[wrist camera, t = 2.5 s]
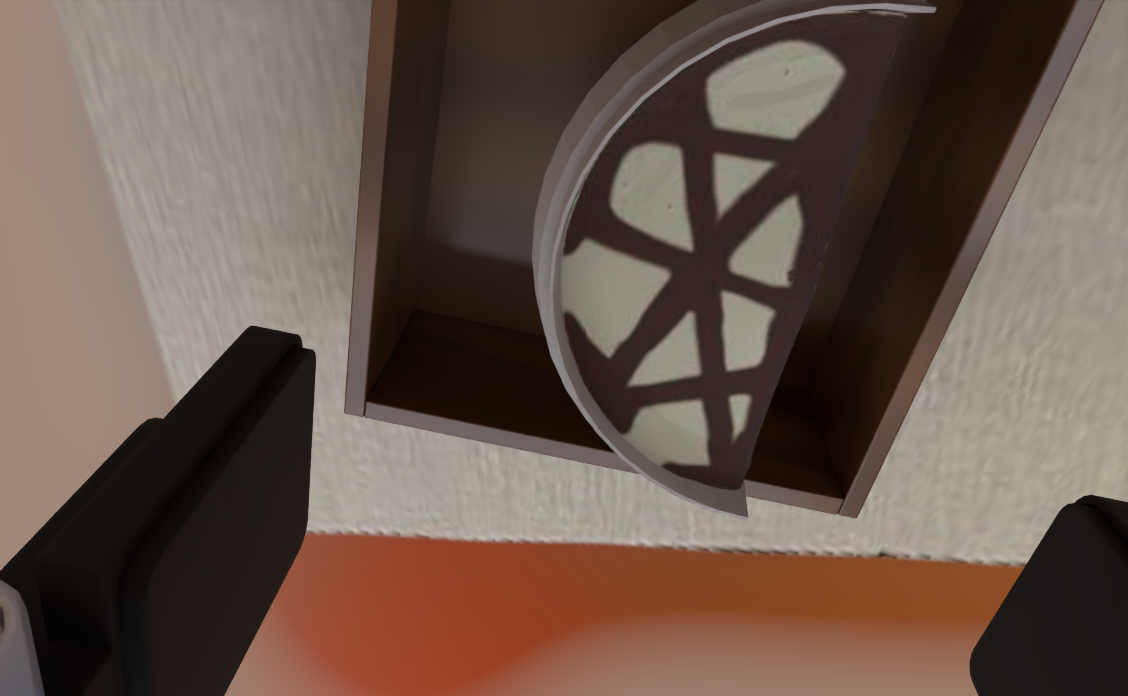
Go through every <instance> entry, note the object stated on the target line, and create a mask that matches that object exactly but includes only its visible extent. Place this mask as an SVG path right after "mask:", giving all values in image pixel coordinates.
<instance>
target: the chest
mask: <svg viewBox="0 0 1128 696" xmlns="http://www.w3.org/2000/svg"><path fill="white" fill-rule="evenodd" d="M696 1H698V0H372V8H371V23H370V38H369V52H368V67H367V82H366V97H365V112H364V126H363V141H362V156H361V171H360V186H359V200H358V215H357V230H356V245H355V259H354V274H353V289H352V304H351V319H350V333H349V348H348V363H347V378H346V392H345V407H344V412H345V413H346V414H351V415H356V416H361V417H364V416H365V417H366V418H370V419H375V420H380V421H384V422H389V423H394V424H399V425H404V426H409V427H414V428H418V429H423V430H428V431H433V432H438V433H443V434H447V435H452V436H457V437H462V438H467V439H472V440H477V441H481V442H486V443H491V444H496V445H501V446H506V447H510V448H515V449H520V450H525V451H530V452H535V453H540V454H544V455H549V456H554V457H559V458H564V459H569V460H574V461H578V462H583V463H588V464H593V465H598V466H603V467H607V468H612V469H617V470H622V471H627V472H632V473H637V474H640V473H639V472H638V471H636V470H635V469H634V468H632V467H631V466H630V465H629V464H627V463H626V462H625V461H624V460H622V459H621V458H620V457H619V456H618V455H617V454H616V453H615V452H614V451H613V450H612V449H611V447H610V446H609V445H608V444H607V443H606V442H605V441H604V440H603V439H602V438H601V437H600V436H599V435H598V434H597V432H596V431H595V430H594V428H593V427H592V425H591V424H590V423H589V422H588V421H587V420H586V419H585V417H584V416H583V414H582V413H581V411H580V410H579V408H578V407H577V405H576V404H575V402H574V401H573V399H572V398H571V396H570V395H569V393H568V392H567V390H566V388H565V386H564V384H563V382H562V380H561V377H560V375H559V373H558V371H557V368H556V366H555V364H554V362H553V360H552V357H551V355H550V351H549V347H548V343H547V339H546V336H545V332H544V328H543V324H542V320H541V316H540V312H539V307H538V303H537V299H536V294H535V283H534V273H533V262H532V248H533V235H534V221H535V213H536V209H537V205H538V201H539V197H540V193H541V189H542V185H543V180H544V176H545V173H546V171H547V168H548V166H549V164H550V161H551V159H552V157H553V154H554V152H555V150H556V147H557V145H558V143H559V140H560V138H561V136H562V133H563V132H564V130H565V128H566V127H567V125H568V124H569V122H570V120H571V119H572V117H573V116H574V114H575V113H576V111H577V109H578V108H579V106H580V105H581V103H582V102H583V100H584V98H585V97H586V95H587V94H588V92H589V91H590V90H591V89H592V88H593V87H594V86H595V84H596V83H597V82H598V81H599V80H600V79H601V78H602V76H603V75H604V74H605V73H606V72H607V71H608V70H609V69H610V67H611V66H612V65H613V64H614V63H615V62H616V61H617V59H618V58H619V57H620V56H621V55H622V54H624V53H625V52H626V51H627V50H628V49H630V48H631V47H632V46H633V45H634V44H636V43H637V42H638V41H639V40H640V39H642V38H643V37H644V36H645V35H646V34H648V33H649V32H650V31H651V30H652V29H654V28H655V27H656V26H657V25H658V24H660V23H661V22H663V21H664V20H666V19H668V18H669V17H671V16H673V15H674V14H676V13H678V12H679V11H681V10H683V9H684V8H686V7H688V6H689V5H691V4H693V3H695V2H696ZM1104 1H1105V0H926V2H928V3H929V4H931V5H933V6H935V7H937V8H936V10H935V13H902V14H904V15H906V16H907V18H906V21H905V24H904V27H903V30H902V33H901V36H900V38H899V41H898V44H897V47H896V50H895V53H894V56H893V58H892V61H891V64H890V67H889V70H888V73H887V76H886V78H885V81H884V84H883V87H882V90H881V93H880V96H879V98H878V101H877V104H876V107H875V110H874V113H873V115H872V118H871V121H870V124H869V127H868V129H867V132H866V135H865V138H864V141H863V144H862V146H861V149H860V152H859V155H858V158H857V161H856V163H855V166H854V169H853V172H852V175H851V178H850V181H849V184H848V188H847V191H846V194H845V197H844V200H843V203H842V206H841V209H840V212H839V215H838V218H837V221H836V224H835V227H834V230H833V233H832V237H831V240H830V243H829V247H828V250H827V253H826V256H825V260H824V263H823V266H822V269H821V273H820V276H819V279H818V282H817V285H816V289H815V292H814V295H813V297H812V300H811V302H810V305H809V307H808V310H807V312H806V315H805V317H804V319H803V322H802V324H801V327H800V329H799V332H798V334H797V336H796V339H795V341H794V344H793V346H792V348H791V351H790V353H789V355H788V358H787V360H786V363H785V365H784V368H783V370H782V373H781V376H780V378H779V381H778V383H777V386H776V389H775V391H774V394H773V396H772V399H771V402H770V404H769V407H768V410H767V413H766V415H765V418H764V421H763V423H762V426H761V429H760V432H759V434H758V437H757V441H756V444H755V447H754V450H753V454H752V460H751V465H750V467H749V469H748V471H747V473H746V475H745V478H744V485H745V494H746V496H748V497H753V498H758V499H763V500H767V501H772V502H777V503H782V504H787V505H792V506H797V507H801V508H806V509H811V510H816V511H821V512H826V513H830V514H835V515H836V514H837V513H838V514H839V515H842V516H846V517H851V518H857V517H858V515H859V513H860V511H861V509H862V506H863V504H864V502H865V500H866V498H867V496H868V494H869V492H870V490H871V488H872V486H873V483H874V481H875V479H876V477H877V475H878V473H879V471H880V469H881V467H882V465H883V463H884V460H885V458H886V456H887V454H888V452H889V450H890V448H891V446H892V444H893V442H894V440H895V437H896V435H897V433H898V431H899V429H900V427H901V425H902V423H903V421H904V419H905V417H906V414H907V412H908V410H909V408H910V406H911V404H912V402H913V400H914V398H915V396H916V394H917V392H918V389H919V387H920V385H921V383H922V381H923V379H924V377H925V375H926V373H927V371H928V369H929V366H930V364H931V362H932V360H933V358H934V356H935V354H936V352H937V350H938V348H939V346H940V343H941V341H942V339H943V337H944V335H945V333H946V331H947V329H948V327H949V325H950V323H951V320H952V318H953V316H954V314H955V312H956V310H957V308H958V306H959V304H960V302H961V300H962V297H963V295H964V293H965V291H966V289H967V287H968V285H969V283H970V281H971V279H972V277H973V274H974V272H975V270H976V268H977V266H978V264H979V262H980V260H981V258H982V256H983V254H984V251H985V249H986V247H987V245H988V243H989V241H990V239H991V237H992V235H993V233H994V231H995V228H996V226H997V224H998V222H999V220H1000V218H1001V216H1002V214H1003V212H1004V210H1005V208H1006V205H1007V203H1008V201H1009V199H1010V197H1011V195H1012V193H1013V191H1014V189H1015V187H1016V185H1017V182H1018V180H1019V178H1020V176H1021V174H1022V172H1023V170H1024V168H1025V166H1026V164H1027V162H1028V159H1029V157H1030V155H1031V153H1032V151H1033V149H1034V147H1035V145H1036V143H1037V141H1038V139H1039V136H1040V134H1041V132H1042V130H1043V128H1044V126H1045V124H1046V122H1047V120H1048V118H1049V116H1050V113H1051V111H1052V109H1053V107H1054V105H1055V103H1056V101H1057V99H1058V97H1059V95H1060V93H1061V91H1062V88H1063V86H1064V84H1065V82H1066V80H1067V78H1068V76H1069V74H1070V72H1071V70H1072V68H1073V65H1074V63H1075V61H1076V59H1077V57H1078V55H1079V53H1080V51H1081V49H1082V47H1083V45H1084V42H1085V40H1086V38H1087V36H1088V34H1089V32H1090V30H1091V28H1092V26H1093V24H1094V22H1095V19H1096V17H1097V15H1098V13H1099V11H1100V9H1101V7H1102V5H1103V3H1104Z"/></svg>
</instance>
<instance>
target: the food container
mask: <svg viewBox="0 0 1128 696" xmlns="http://www.w3.org/2000/svg"><path fill="white" fill-rule="evenodd" d="M936 8H937V7H935V6H933V5H931V4H929V3H928V2H926V0H698V1H696V2H695V3H693V4H691V5H689V6H688V7H686V8H684V9H683V10H681V11H679V12H678V13H676V14H674V15H673V16H671V17H669V18H668V19H666V20H664V21H663V22H661V23H660V24H658V25H657V26H656V27H655V28H654V29H652V30H651V31H650V32H649V33H648V34H646V35H645V36H644V37H643V38H642V39H640V40H639V41H638V42H637V43H636V44H634V45H633V46H632V47H631V48H630V49H628V50H627V51H626V52H625V53H624V54H622V55H621V56H620V57H619V58H618V59H617V61H616V62H615V63H614V64H613V65H612V66H611V67H610V69H609V70H608V71H607V72H606V73H605V74H604V75H603V76H602V78H601V79H600V80H599V81H598V82H597V83H596V84H595V86H594V87H593V88H592V89H591V90H590V91H589V92H588V94H587V95H586V97H585V98H584V100H583V102H582V103H581V105H580V106H579V108H578V109H577V111H576V113H575V114H574V116H573V117H572V119H571V120H570V122H569V124H568V125H567V127H566V128H565V130H564V132H563V133H562V136H561V138H560V140H559V143H558V145H557V147H556V150H555V152H554V154H553V157H552V159H551V161H550V164H549V166H548V168H547V171H546V173H545V176H544V180H543V185H542V189H541V193H540V197H539V201H538V205H537V209H536V213H535V221H534V235H533V248H532V262H533V273H534V283H535V294H536V299H537V303H538V307H539V312H540V316H541V320H542V324H543V328H544V332H545V336H546V339H547V343H548V347H549V351H550V355H551V357H552V360H553V362H554V364H555V366H556V368H557V371H558V373H559V375H560V377H561V380H562V382H563V384H564V386H565V388H566V390H567V392H568V393H569V395H570V396H571V398H572V399H573V401H574V402H575V404H576V405H577V407H578V408H579V410H580V411H581V413H582V414H583V416H584V417H585V419H586V420H587V421H588V422H589V423H590V424H591V425H592V427H593V428H594V430H595V431H596V432H597V434H598V435H599V436H600V437H601V438H602V439H603V440H604V441H605V442H606V443H607V444H608V445H609V446H610V447H611V449H612V450H613V451H614V452H615V453H616V454H617V455H618V456H619V457H620V458H621V459H622V460H624V461H625V462H626V463H627V464H629V465H630V466H631V467H632V468H634V469H635V470H636V471H638V472H639V473H640V474H641V475H643V476H644V477H645V478H646V479H648V480H649V481H651V482H653V483H654V484H656V485H658V486H660V487H661V488H663V489H665V490H667V491H668V492H670V493H672V494H674V495H675V496H677V497H679V498H681V499H683V500H686V501H688V502H691V503H693V504H696V505H698V506H701V507H703V508H706V509H708V510H711V511H713V512H716V513H720V514H724V515H728V516H732V517H735V518H739V519H743V520H748V512H747V503H746V494H745V485H744V478H745V475H746V473H747V471H748V469H749V467H750V465H751V460H752V454H753V450H754V447H755V444H756V441H757V437H758V434H759V432H760V429H761V426H762V423H763V421H764V418H765V415H766V413H767V410H768V407H769V404H770V402H771V399H772V396H773V394H774V391H775V389H776V386H777V383H778V381H779V378H780V376H781V373H782V370H783V368H784V365H785V363H786V360H787V358H788V355H789V353H790V351H791V348H792V346H793V344H794V341H795V339H796V336H797V334H798V332H799V329H800V327H801V324H802V322H803V319H804V317H805V315H806V312H807V310H808V307H809V305H810V302H811V300H812V297H813V295H814V292H815V289H816V285H817V282H818V279H819V276H820V273H821V269H822V266H823V263H824V260H825V256H826V253H827V250H828V247H829V243H830V240H831V237H832V233H833V230H834V227H835V224H836V221H837V218H838V215H839V212H840V209H841V206H842V203H843V200H844V197H845V194H846V191H847V188H848V184H849V181H850V178H851V175H852V172H853V169H854V166H855V163H856V161H857V158H858V155H859V152H860V149H861V146H862V144H863V141H864V138H865V135H866V132H867V129H868V127H869V124H870V121H871V118H872V115H873V113H874V110H875V107H876V104H877V101H878V98H879V96H880V93H881V90H882V87H883V84H884V81H885V78H886V76H887V73H888V70H889V67H890V64H891V61H892V58H893V56H894V53H895V50H896V47H897V44H898V41H899V38H900V36H901V33H902V30H903V27H904V24H905V21H906V18H907V16H906V15H904V14H902V13H935V10H936Z"/></svg>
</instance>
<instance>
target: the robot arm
mask: <svg viewBox="0 0 1128 696" xmlns="http://www.w3.org/2000/svg"><path fill="white" fill-rule="evenodd" d="M315 371H316V355H315V352H314V350H311V349H306V348H303V347H302V340H301V337H300V336H299V335H297V334H292V333H287V332H282V331H277V330H272V329H268V328H263V327H258V326H250V327H248V328H247V329H246V330H245V331H244V332H243V333H242V334H241V335H240V336H239V337H238V338H237V340H236V341H235V342H234V343H233V344H232V345H231V346H230V347H229V348H228V349H227V350H226V351H225V353H224V354H223V355H222V356H221V357H220V358H219V359H218V360H217V361H216V362H215V363H214V364H213V366H212V367H211V368H210V369H209V370H208V371H207V372H206V373H205V374H204V375H203V376H202V377H201V379H200V380H199V381H198V382H197V383H196V384H195V385H194V386H193V387H192V388H191V389H190V390H189V392H188V393H187V394H186V395H185V396H184V397H183V398H182V399H181V400H180V401H179V402H178V403H177V405H176V406H175V407H174V408H173V409H172V410H171V411H170V412H169V413H168V414H167V415H166V417H165V418H164V419H161V418H152V419H148V420H147V421H145V422H144V423H143V424H141V425H140V426H139V427H138V428H137V429H136V430H135V431H134V432H133V433H132V434H131V435H130V436H129V437H128V438H127V439H126V440H125V441H124V442H123V444H121V445H120V446H119V447H118V449H117V450H116V451H115V452H114V453H113V454H112V455H111V456H110V457H109V458H108V459H107V460H106V461H105V462H104V463H103V464H102V465H101V466H100V467H99V468H98V470H96V471H95V473H94V474H93V475H92V476H91V477H90V478H89V479H88V480H87V481H86V482H85V483H84V484H83V485H82V486H81V487H80V488H79V489H78V490H77V491H76V492H75V493H74V494H73V495H72V497H71V498H70V499H69V500H68V501H67V502H66V503H65V504H64V505H63V506H62V507H61V508H60V509H59V510H58V511H57V512H56V513H55V514H54V515H53V516H52V517H51V518H50V519H49V521H48V522H47V523H46V524H45V525H44V526H43V527H42V528H41V529H40V530H39V531H38V532H37V533H36V534H35V535H34V536H33V537H32V538H31V539H30V540H29V541H28V543H27V544H26V545H25V546H24V547H23V548H22V549H21V550H20V551H19V552H18V553H17V554H16V555H15V556H14V557H13V558H12V559H11V560H10V561H9V562H8V563H7V564H6V566H4V568H3V569H2V570H1V571H0V696H224V695H225V693H226V691H227V689H228V687H229V685H230V683H231V681H232V680H233V678H234V676H235V674H236V672H237V670H238V668H239V666H240V664H241V662H242V660H243V658H244V656H245V654H246V652H247V651H248V648H249V647H250V645H251V643H252V641H253V639H254V637H255V635H256V633H257V631H258V629H259V627H260V625H261V623H262V622H263V620H264V618H265V616H266V614H267V612H268V610H269V608H270V606H271V604H272V602H273V600H274V598H275V596H276V595H277V593H278V591H279V589H280V587H281V585H282V583H283V581H284V579H285V577H286V575H287V573H288V571H289V569H290V567H291V566H292V564H293V562H294V560H295V558H296V556H297V554H298V552H299V550H300V548H301V545H302V542H303V540H304V536H305V533H306V528H307V522H308V506H309V487H310V467H311V448H312V429H313V409H314V390H315ZM970 675H971V679H972V682H973V684H974V686H975V689H976V691H977V693H978V695H979V696H1128V502H1124V501H1119V500H1114V499H1109V498H1104V497H1099V496H1094V495H1088V496H1083V497H1082V498H1080V499H1078V500H1077V501H1076V502H1075V503H1072V504H1068V505H1066V506H1064V507H1063V508H1062V509H1061V511H1060V512H1059V513H1058V515H1057V516H1056V518H1055V519H1054V521H1053V523H1052V524H1051V526H1050V527H1049V529H1048V531H1047V532H1046V534H1045V535H1044V537H1043V539H1042V540H1041V542H1040V544H1039V545H1038V547H1037V548H1036V550H1035V552H1034V553H1033V555H1032V556H1031V558H1030V560H1029V561H1028V563H1027V564H1026V566H1025V568H1024V569H1023V571H1022V572H1021V574H1020V576H1019V577H1018V579H1017V580H1016V582H1015V584H1014V585H1013V587H1012V588H1011V590H1010V592H1009V593H1008V595H1007V596H1006V598H1005V600H1004V601H1003V603H1002V604H1001V606H1000V608H999V609H998V611H997V612H996V614H995V616H994V617H993V619H992V620H991V622H990V624H989V625H988V627H987V628H986V630H985V632H984V633H983V635H982V636H981V638H980V640H979V641H978V643H977V644H976V646H975V648H974V649H973V652H972V654H971V658H970Z"/></svg>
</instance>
